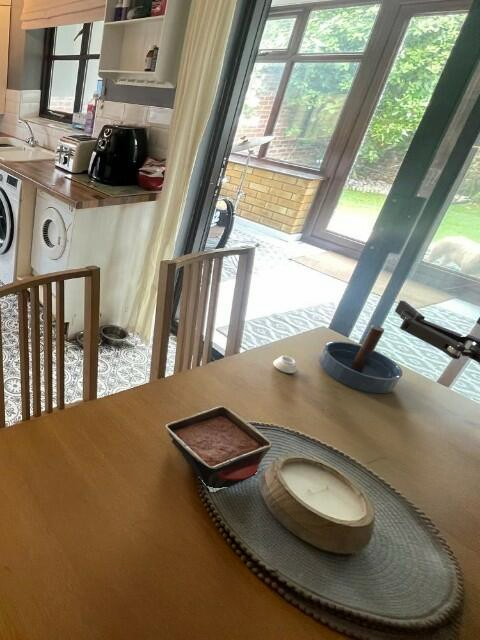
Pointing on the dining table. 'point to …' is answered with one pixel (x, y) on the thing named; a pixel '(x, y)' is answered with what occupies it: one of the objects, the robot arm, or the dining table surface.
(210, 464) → the baking dish
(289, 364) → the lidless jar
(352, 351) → the bowl
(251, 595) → the dining table surface
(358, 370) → the stirring stick
